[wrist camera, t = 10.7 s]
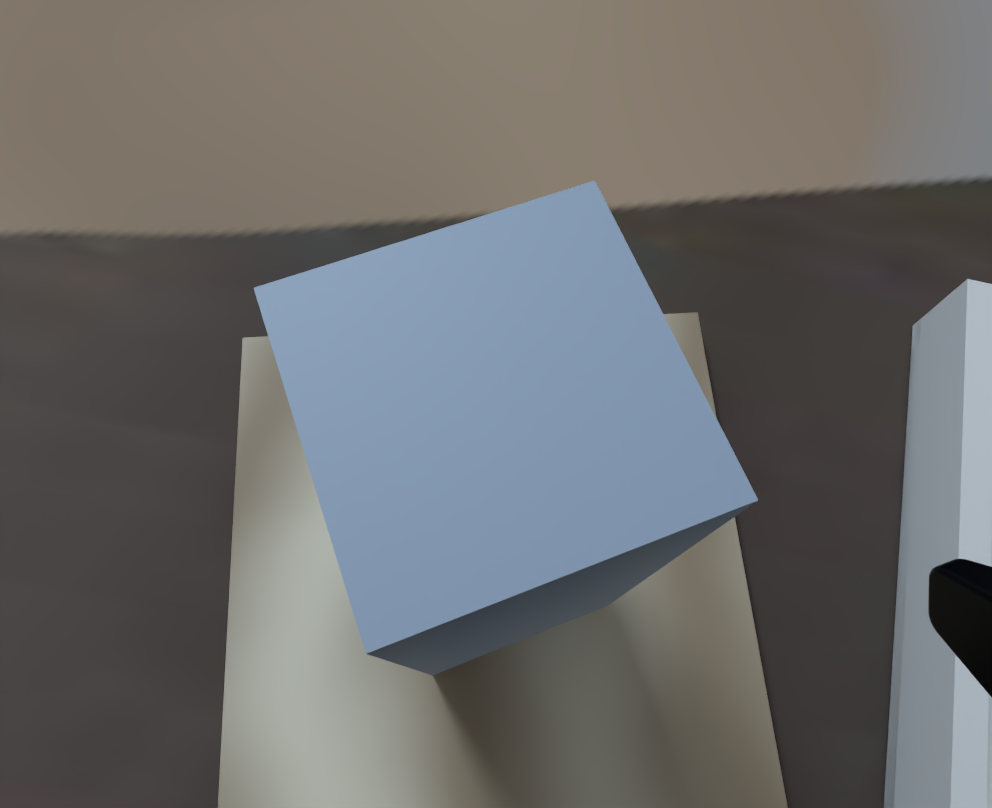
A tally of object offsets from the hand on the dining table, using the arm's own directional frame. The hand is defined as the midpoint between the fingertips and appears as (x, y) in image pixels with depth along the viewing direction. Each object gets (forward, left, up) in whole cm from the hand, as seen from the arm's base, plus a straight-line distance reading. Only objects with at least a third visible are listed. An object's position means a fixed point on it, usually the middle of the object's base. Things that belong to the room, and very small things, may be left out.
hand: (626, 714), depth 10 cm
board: (+4, -2, -12) cm, 12 cm away
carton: (+4, -2, -11) cm, 11 cm away
